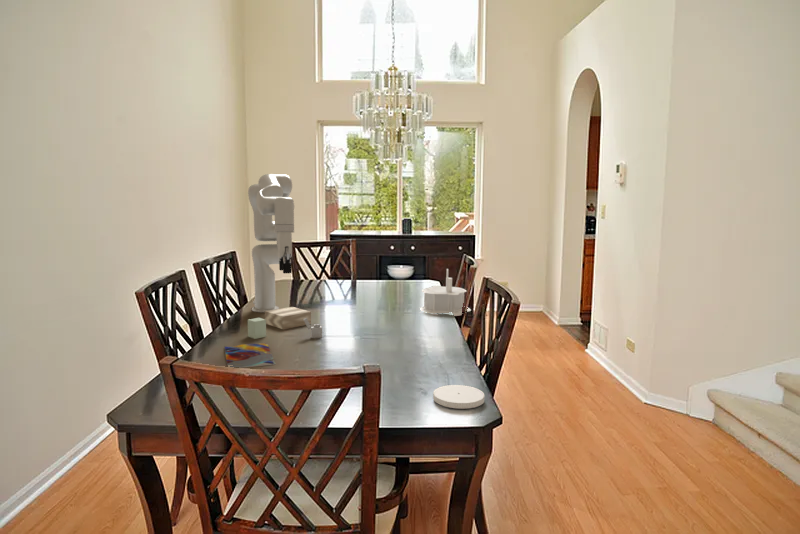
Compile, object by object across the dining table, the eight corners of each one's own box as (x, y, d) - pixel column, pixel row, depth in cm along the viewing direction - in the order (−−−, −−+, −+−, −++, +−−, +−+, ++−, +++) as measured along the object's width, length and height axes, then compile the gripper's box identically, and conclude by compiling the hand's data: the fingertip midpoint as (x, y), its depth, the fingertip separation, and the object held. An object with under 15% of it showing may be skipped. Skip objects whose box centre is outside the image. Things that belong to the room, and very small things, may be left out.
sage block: (248, 337, 218) (247, 319, 217) (259, 334, 221) (258, 317, 220) (255, 339, 214) (254, 321, 213) (266, 337, 218) (265, 319, 217)
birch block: (265, 324, 239) (264, 311, 238) (292, 319, 249) (292, 306, 248) (283, 330, 229) (283, 316, 228) (311, 325, 239) (310, 311, 238)
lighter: (321, 336, 219) (321, 317, 218) (322, 337, 217) (322, 318, 216) (303, 337, 217) (303, 317, 216) (303, 338, 216) (303, 318, 215)
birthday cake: (404, 307, 279) (405, 264, 276) (454, 303, 290) (456, 262, 287) (430, 320, 252) (431, 273, 249) (485, 315, 263) (486, 270, 260)
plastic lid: (439, 391, 162) (439, 382, 161) (487, 396, 158) (487, 388, 157) (427, 408, 148) (428, 399, 148) (480, 415, 145) (480, 405, 144)
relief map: (275, 366, 183) (275, 360, 183) (227, 371, 178) (227, 365, 178) (267, 346, 207) (267, 341, 207) (224, 349, 202) (224, 344, 202)
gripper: (272, 227, 226) (272, 269, 228) (277, 230, 210) (278, 274, 212) (290, 227, 229) (291, 268, 231) (297, 229, 213) (298, 274, 215)
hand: (285, 271), depth 221 cm, fingers open, 9 cm apart
